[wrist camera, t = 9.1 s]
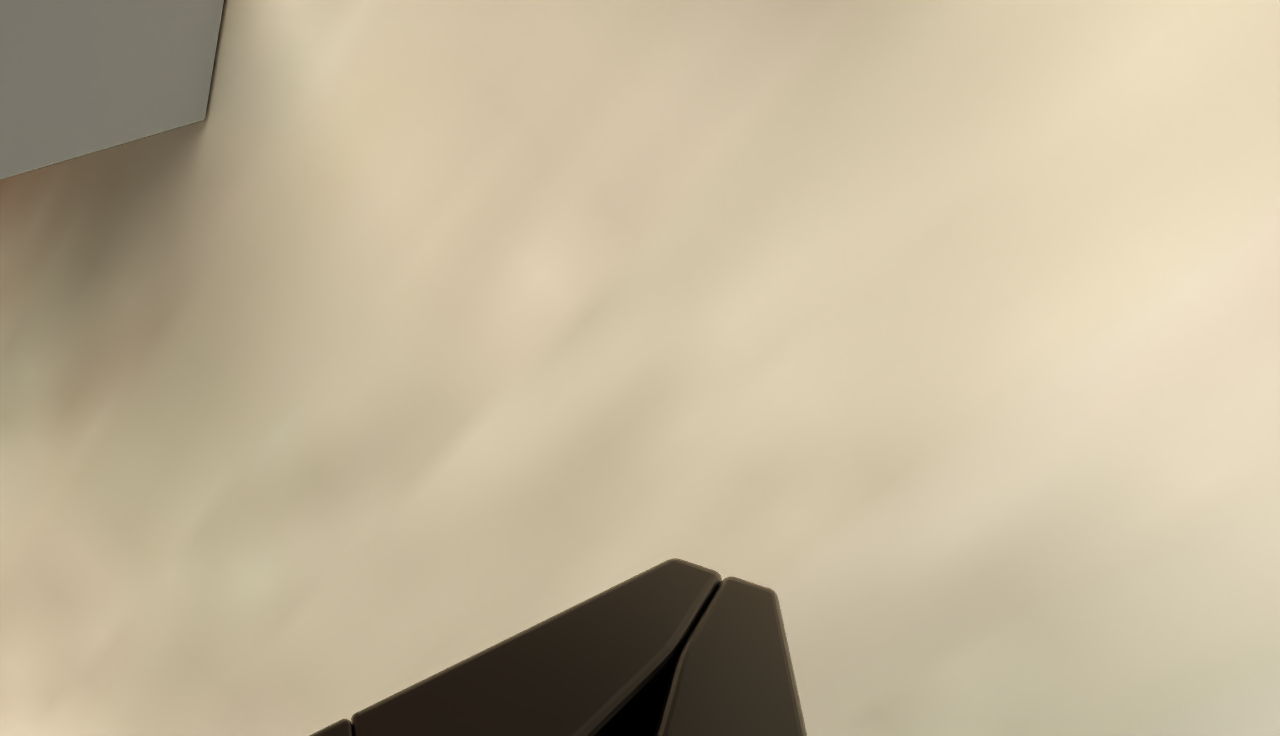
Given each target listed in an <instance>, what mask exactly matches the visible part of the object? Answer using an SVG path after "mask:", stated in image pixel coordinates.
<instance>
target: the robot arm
mask: <svg viewBox="0 0 1280 736" xmlns="http://www.w3.org/2000/svg"><path fill="white" fill-rule="evenodd" d="M310 736H807V733H806V728H805V724H804V719H803V714H802V709H801V705H800V700H799V695H798V690H797V686H796V681H795V676H794V671H793V667H792V662H791V657H790V652H789V648H788V643H787V638H786V633H785V629H784V624H783V619H782V614H781V610H780V605H779V600H778V597H777V594H776V593H775V592H774V591H773V590H772V589H770V588H767V587H763V586H760V585H757V584H754V583H751V582H748V581H745V580H742V579H739V578H735V577H728V578H725V579H724V580H723V581H722V578H721V575H720V574H719V573H718V572H716V571H714V570H711V569H708V568H705V567H702V566H699V565H696V564H693V563H690V562H687V561H684V560H680V559H670V560H667V561H665V562H663V563H661V564H659V565H657V566H655V567H653V568H651V569H649V570H647V571H645V572H643V573H641V574H639V575H637V576H634V577H632V578H630V579H628V580H626V581H624V582H622V583H620V584H618V585H616V586H614V587H612V588H610V589H608V590H606V591H604V592H602V593H600V594H598V595H596V596H594V597H592V598H590V599H588V600H586V601H584V602H582V603H579V604H577V605H575V606H573V607H571V608H569V609H567V610H565V611H563V612H561V613H559V614H557V615H555V616H553V617H551V618H549V619H547V620H545V621H543V622H541V623H539V624H537V625H535V626H533V627H531V628H529V629H526V630H524V631H522V632H520V633H518V634H516V635H514V636H512V637H510V638H508V639H506V640H504V641H502V642H500V643H498V644H496V645H494V646H492V647H490V648H488V649H486V650H484V651H482V652H480V653H478V654H476V655H474V656H471V657H469V658H467V659H465V660H463V661H461V662H459V663H457V664H455V665H453V666H451V667H449V668H447V669H445V670H443V671H441V672H439V673H437V674H435V675H433V676H431V677H429V678H427V679H425V680H423V681H421V682H418V683H416V684H414V685H412V686H410V687H408V688H406V689H404V690H402V691H400V692H398V693H396V694H394V695H392V696H390V697H388V698H386V699H384V700H382V701H380V702H378V703H376V704H374V705H372V706H370V707H368V708H366V709H363V710H361V711H359V712H357V713H355V714H354V715H353V716H352V718H351V722H350V721H349V720H348V719H342V720H340V721H338V722H336V723H334V724H332V725H330V726H328V727H326V728H324V729H322V730H320V731H318V732H316V733H314V734H312V735H310Z"/></svg>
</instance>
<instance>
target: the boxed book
mask: <svg viewBox="0 0 1280 736" xmlns="http://www.w3.org/2000/svg"><path fill="white" fill-rule="evenodd" d="M223 4H224V0H0V180H1V179H5V178H8V177H11V176H15V175H18V174H22V173H25V172H28V171H32V170H35V169H39V168H42V167H45V166H49V165H52V164H56V163H59V162H62V161H66V160H69V159H73V158H76V157H79V156H83V155H86V154H90V153H93V152H97V151H100V150H103V149H107V148H110V147H114V146H117V145H120V144H124V143H127V142H131V141H134V140H137V139H141V138H144V137H148V136H151V135H154V134H158V133H161V132H165V131H168V130H171V129H175V128H178V127H182V126H185V125H188V124H192V123H195V122H199V121H202V120H205V115H206V108H207V102H208V96H209V90H210V84H211V78H212V71H213V65H214V59H215V53H216V47H217V41H218V34H219V28H220V22H221V16H222V10H223Z"/></svg>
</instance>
